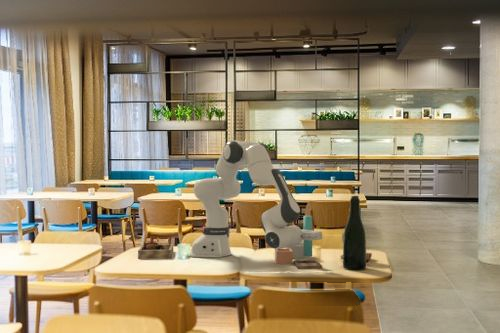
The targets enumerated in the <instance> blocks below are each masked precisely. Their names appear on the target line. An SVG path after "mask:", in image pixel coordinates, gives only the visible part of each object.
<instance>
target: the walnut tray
mask: <svg viewBox="0 0 500 333" xmlns="http://www.w3.org/2000/svg"><path fill="white" fill-rule="evenodd" d="M293 264H294V266H295V268H296V269H297V270H308V269H309V270H318V269H319V270H322V269H323V265H322V263H320V262H319V261H318V259H297V260H296V259H293Z"/></svg>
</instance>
